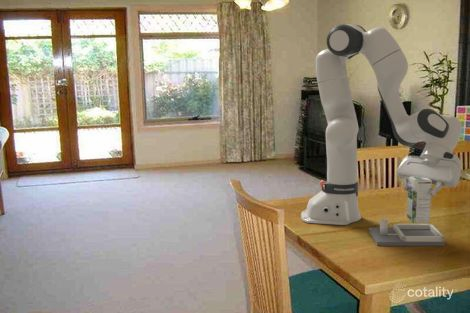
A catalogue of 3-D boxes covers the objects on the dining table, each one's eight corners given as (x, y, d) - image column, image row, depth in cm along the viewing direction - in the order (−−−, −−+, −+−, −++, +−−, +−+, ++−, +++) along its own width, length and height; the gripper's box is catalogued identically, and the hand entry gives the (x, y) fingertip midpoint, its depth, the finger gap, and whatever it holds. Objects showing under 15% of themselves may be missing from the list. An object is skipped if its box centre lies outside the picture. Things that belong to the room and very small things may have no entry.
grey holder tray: (377, 245, 150) (377, 227, 149) (368, 230, 164) (369, 213, 163) (444, 245, 148) (445, 227, 147) (430, 230, 162) (431, 213, 161)
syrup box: (406, 218, 157) (407, 176, 155) (423, 217, 157) (425, 175, 155) (412, 223, 152) (414, 180, 149) (430, 222, 152) (432, 179, 149)
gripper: (403, 149, 163) (386, 181, 158) (462, 156, 147) (445, 192, 143) (409, 160, 166) (393, 191, 162) (467, 167, 151) (451, 203, 146)
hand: (418, 192), depth 152 cm, fingers closed on syrup box, 8 cm apart
